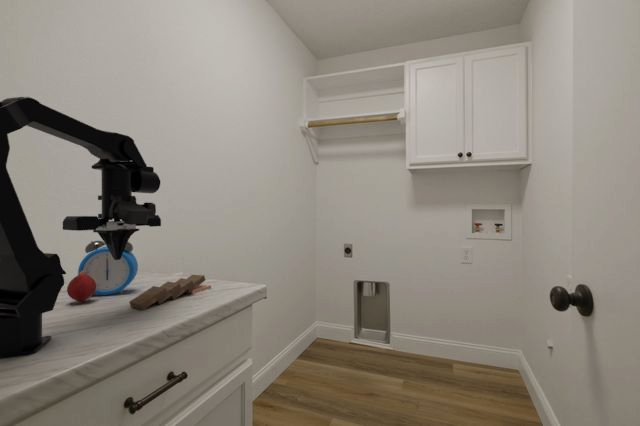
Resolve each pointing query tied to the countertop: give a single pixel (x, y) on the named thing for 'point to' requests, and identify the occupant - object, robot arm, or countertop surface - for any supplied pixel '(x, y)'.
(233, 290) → the countertop surface
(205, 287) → the tile
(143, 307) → the tile
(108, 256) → the alarm clock
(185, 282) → the tile
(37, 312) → the robot arm
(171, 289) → the tile
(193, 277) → the tile
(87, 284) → the onion
